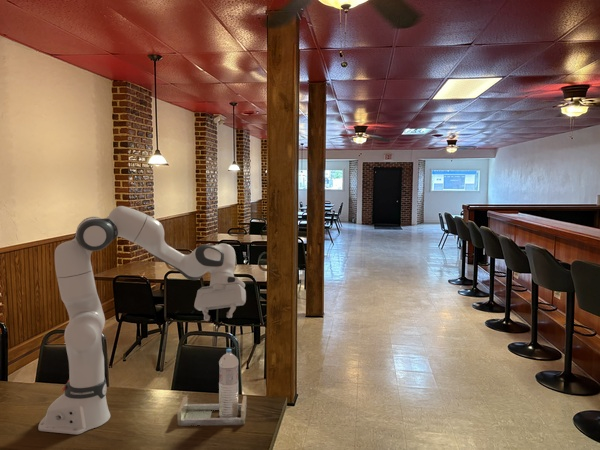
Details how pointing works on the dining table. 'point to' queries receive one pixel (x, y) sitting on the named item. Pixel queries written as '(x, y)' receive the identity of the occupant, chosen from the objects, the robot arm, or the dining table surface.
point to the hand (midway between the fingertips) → (217, 318)
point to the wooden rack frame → (206, 414)
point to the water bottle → (228, 385)
